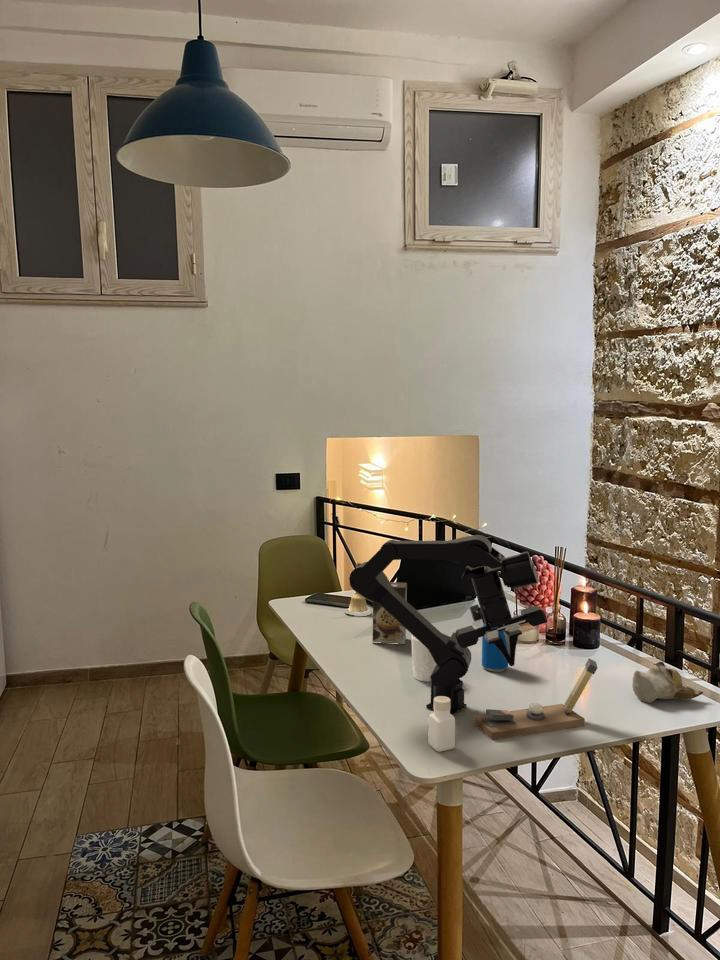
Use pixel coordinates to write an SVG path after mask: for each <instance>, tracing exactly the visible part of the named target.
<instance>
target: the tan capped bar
mask: <svg viewBox="0 0 720 960" xmlns="http://www.w3.org/2000/svg"><path fill="white" fill-rule="evenodd" d="M597 670H598V665H597V661H595V660H594V659H591V658H588V659H587V661H586V663H585V666H584V669H583V670H582V672H581V674H580V675H579V678H578V679H577V681H576V683H575V685H574V686H573V688H572V690H571V692H570V693H569V695H568V697H567V699H566V700H565V703H564V704H563V705H564V709H565V714H566V715H569V714H570V713H571V711H573V709H574V708H575V706H576V704H577V702H578V701H579V698H580V697H581V696H582V694H583V692H584V690H585V688H586V686H587V685H588V683H589V681H590V679H591V678H592V676H593V675H595V673H596V672H597Z"/></svg>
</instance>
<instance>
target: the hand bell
mask: <svg viewBox="0 0 720 960" xmlns="http://www.w3.org/2000/svg"><path fill="white" fill-rule="evenodd" d="M361 564H362V562H357V563H356V566H355V568H357V567H358V566H359V565H361ZM348 607H349V608H347V609H348V610H349V611H351V612H364V611H367V610H368V609H369V607H368V604H367V599H366V598H365V597H363V596H362V595H360V594H359V593H357V592H356V591H355V593H354V594H353V595H351V598H350V602H349V606H348Z"/></svg>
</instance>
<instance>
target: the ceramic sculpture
mask: <svg viewBox="0 0 720 960" xmlns="http://www.w3.org/2000/svg"><path fill="white" fill-rule="evenodd" d="M631 686H632V687H631V688H632V691H633V693H634V695H635V696H636V697H637V699H639V701H640V702H643V703H649V704H652V703H653V702H654V701H656V699H659V700H673V699H675V698H676V699H678V700H685V701H686V700H687V701H688V700H691V699H694V698H697V697H699V696H701V695H702V694H703V693H704V691H701V690H695V688H692V687H690V686H689V687H688V686H685V685H684V684H683V681H682V675H681V674H680V673H679V671H678V670H677V669H675V668H673V667H671V666H670V665H666V664H665V663H664V662H663V661H658V662H655V663H653V664H651V666H650V668H649V669H648V670H647V671H640V670H635V671H634V673H633V676H632V685H631Z"/></svg>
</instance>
